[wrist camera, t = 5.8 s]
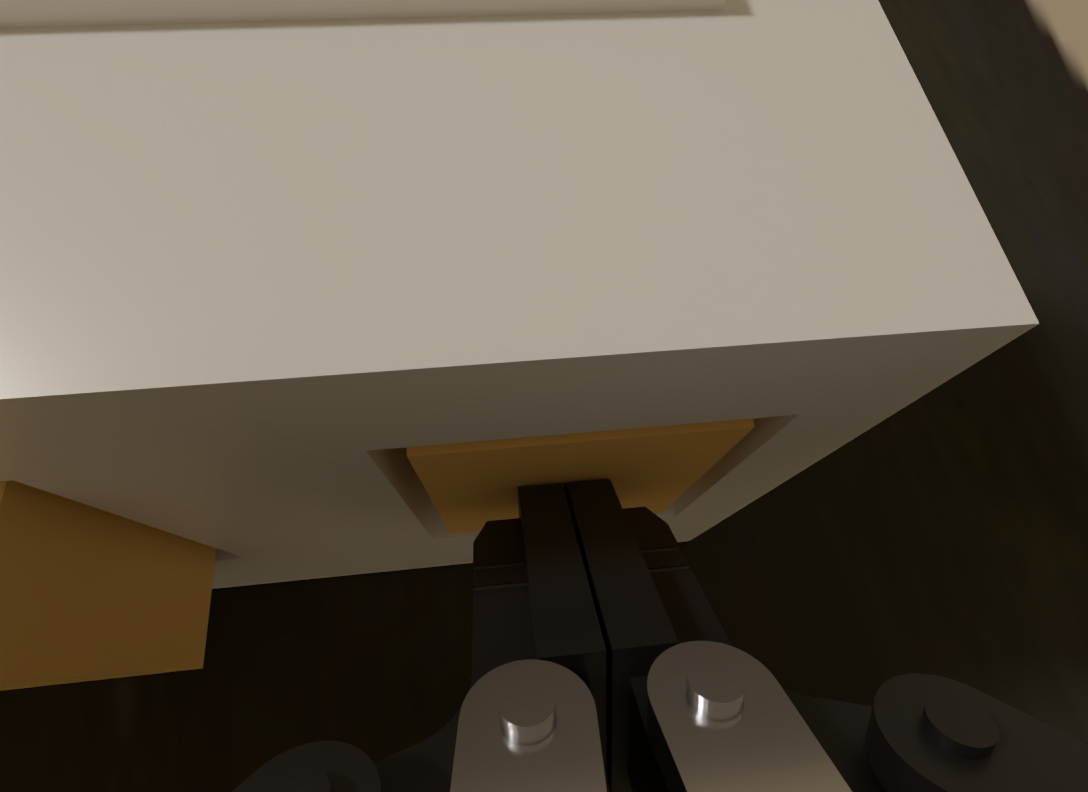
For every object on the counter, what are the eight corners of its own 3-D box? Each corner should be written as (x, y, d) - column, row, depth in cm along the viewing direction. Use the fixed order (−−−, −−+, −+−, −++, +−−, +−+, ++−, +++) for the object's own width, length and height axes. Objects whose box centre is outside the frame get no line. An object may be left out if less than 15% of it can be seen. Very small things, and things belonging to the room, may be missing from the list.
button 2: (450, 533, 12) (406, 455, 7) (445, 398, 13) (404, 254, 8) (661, 512, 12) (754, 427, 8) (638, 383, 13) (705, 237, 9)
